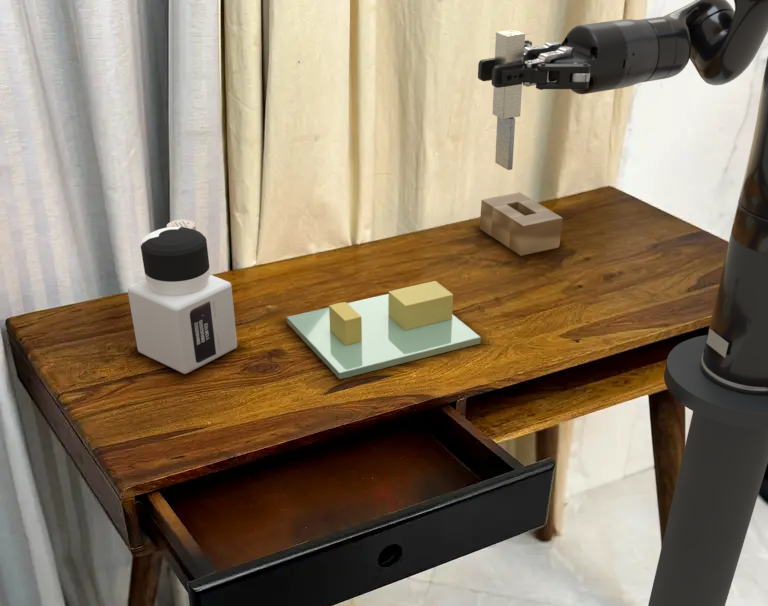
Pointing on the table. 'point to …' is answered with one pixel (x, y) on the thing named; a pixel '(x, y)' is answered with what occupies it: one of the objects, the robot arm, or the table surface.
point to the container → (181, 302)
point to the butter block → (420, 305)
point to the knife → (507, 95)
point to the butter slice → (345, 323)
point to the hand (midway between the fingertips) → (487, 74)
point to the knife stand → (520, 223)
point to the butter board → (378, 338)
